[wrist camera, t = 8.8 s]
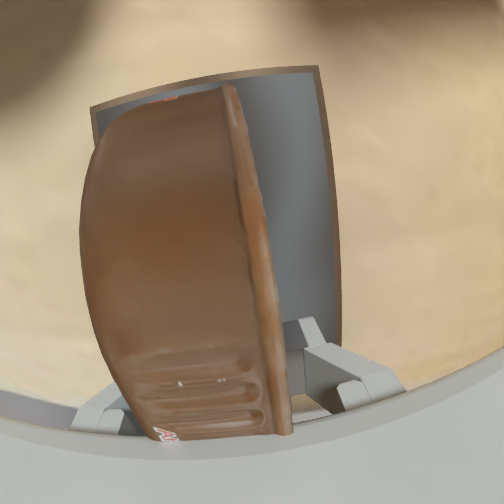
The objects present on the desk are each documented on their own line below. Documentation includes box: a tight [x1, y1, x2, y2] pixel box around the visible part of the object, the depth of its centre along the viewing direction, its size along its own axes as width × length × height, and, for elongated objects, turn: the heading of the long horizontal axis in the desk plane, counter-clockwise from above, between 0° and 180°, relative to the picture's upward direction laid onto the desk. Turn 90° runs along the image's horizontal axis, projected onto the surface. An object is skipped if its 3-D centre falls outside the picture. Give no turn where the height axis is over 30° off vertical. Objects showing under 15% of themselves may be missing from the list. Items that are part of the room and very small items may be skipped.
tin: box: [79, 82, 294, 442], centre depth 8 cm, size 15×3×8 cm, turn 8°
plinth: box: [90, 65, 342, 347], centre depth 17 cm, size 12×20×4 cm, turn 8°
